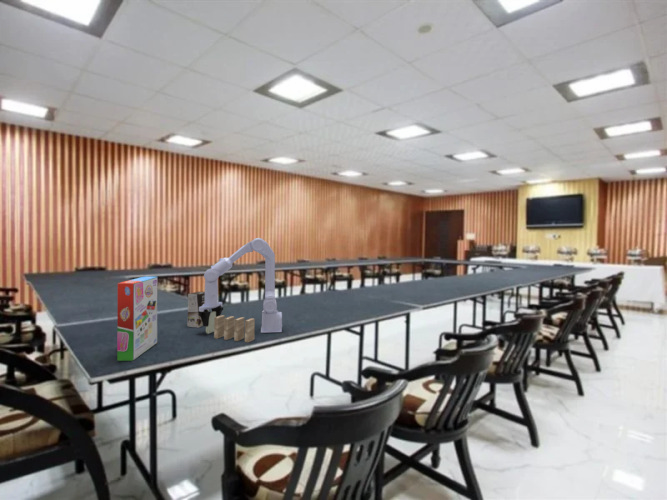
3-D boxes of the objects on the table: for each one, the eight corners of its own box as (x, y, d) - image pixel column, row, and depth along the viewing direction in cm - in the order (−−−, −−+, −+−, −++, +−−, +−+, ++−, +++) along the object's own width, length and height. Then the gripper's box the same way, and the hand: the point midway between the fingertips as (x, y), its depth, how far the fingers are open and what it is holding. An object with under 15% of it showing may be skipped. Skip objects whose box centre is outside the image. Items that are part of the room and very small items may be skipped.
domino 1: (215, 330, 165) (215, 311, 165) (208, 333, 161) (209, 313, 160) (212, 330, 166) (212, 311, 166) (205, 333, 161) (206, 313, 161)
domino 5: (254, 339, 153) (254, 318, 153) (248, 342, 148) (248, 321, 148) (251, 339, 153) (251, 318, 153) (244, 342, 149) (245, 320, 148)
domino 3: (234, 336, 156) (234, 316, 156) (227, 339, 151) (227, 318, 151) (230, 336, 157) (231, 316, 156) (224, 339, 152) (224, 318, 152)
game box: (143, 343, 143) (144, 276, 142) (157, 343, 144) (158, 276, 143) (116, 361, 123) (117, 282, 122) (133, 361, 123) (133, 282, 122)
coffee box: (198, 327, 170) (199, 294, 170) (186, 326, 172) (187, 293, 171) (209, 323, 179) (209, 291, 179) (197, 322, 180) (198, 290, 180)
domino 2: (224, 335, 158) (224, 315, 157) (217, 338, 153) (217, 317, 153) (221, 335, 158) (221, 315, 158) (214, 338, 153) (214, 317, 153)
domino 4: (244, 338, 154) (244, 317, 154) (237, 341, 150) (237, 319, 150) (240, 337, 155) (241, 317, 155) (234, 340, 150) (234, 319, 150)
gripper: (213, 292, 171) (213, 320, 171) (193, 296, 157) (192, 327, 157) (226, 293, 169) (225, 321, 169) (206, 297, 155) (206, 328, 155)
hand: (210, 324), depth 163 cm, fingers open, 7 cm apart
